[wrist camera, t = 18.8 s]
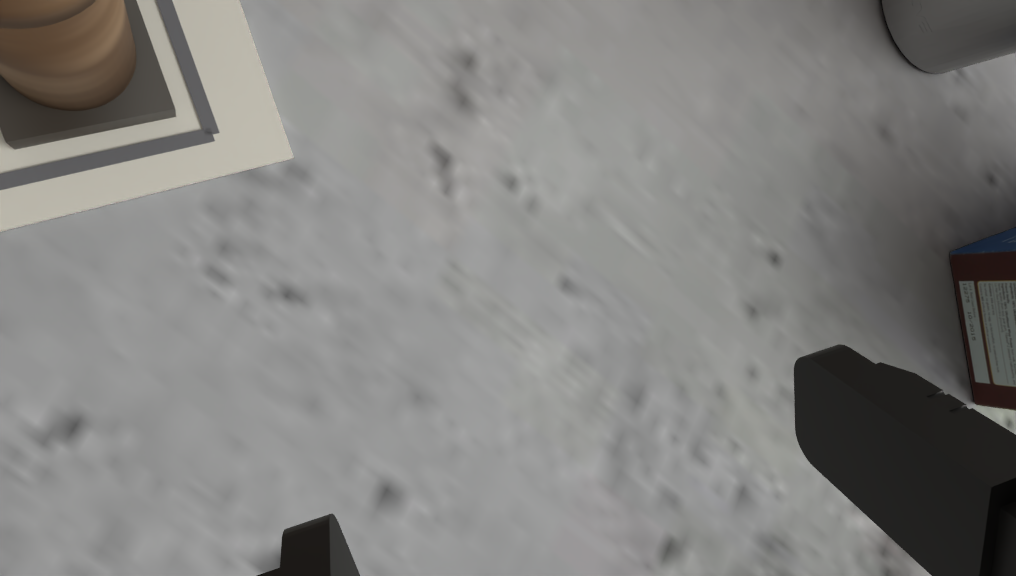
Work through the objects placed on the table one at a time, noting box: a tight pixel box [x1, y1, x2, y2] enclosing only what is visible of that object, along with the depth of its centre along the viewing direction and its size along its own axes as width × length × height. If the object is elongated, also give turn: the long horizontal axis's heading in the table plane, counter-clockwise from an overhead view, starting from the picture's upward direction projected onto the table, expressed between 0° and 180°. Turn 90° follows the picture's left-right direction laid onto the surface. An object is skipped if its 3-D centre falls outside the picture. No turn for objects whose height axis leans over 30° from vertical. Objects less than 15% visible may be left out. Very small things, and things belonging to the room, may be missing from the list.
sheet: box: [0, 0, 294, 232], centre depth 23 cm, size 12×10×1 cm
